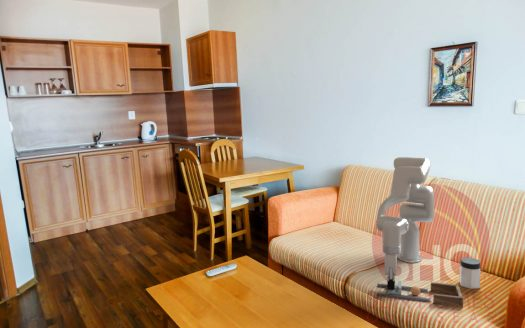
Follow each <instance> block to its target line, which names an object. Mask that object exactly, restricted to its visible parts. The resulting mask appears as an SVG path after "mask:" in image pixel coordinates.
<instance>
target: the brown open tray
mask: <svg viewBox="0 0 525 328" xmlns="http://www.w3.org/2000/svg"><path fill="white" fill-rule="evenodd" d="M430 292H431V293H433V292H434V293H433V299H432V300H433V302H432V303H433V305H442V306H450V307H457V306H462V307H461V308H463V306H464V296H463V294H462V291H461V289H460V286H459V285H458V284H454V283H452V284H451V283H442V282H441V283H440V282H432V281H431V282H430ZM439 293H440V294H439ZM448 294H450V295H448ZM451 294H452V295H451Z"/></svg>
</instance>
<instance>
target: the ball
mask: <svg viewBox="0 0 525 328" xmlns="http://www.w3.org/2000/svg"><path fill="white" fill-rule="evenodd" d="M411 287H412V288H411V290H410V293H411V294H412V295H413V296H419V295H420V293H421V291H420V289H419V288H420V287H418V286H417V285H413V286H411Z"/></svg>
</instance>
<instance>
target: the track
mask: <svg viewBox="0 0 525 328" xmlns="http://www.w3.org/2000/svg"><path fill="white" fill-rule="evenodd" d="M376 285H377V287H378V288H387V284H386V283H377V284H376ZM395 286H398V284H395ZM412 287H413V286H405V285H401V290H404V291H405V290H406V291H411V288H412ZM418 288H419V289H420V293H421V292H422V293H428V292H429V289H428V288H424V287H423V288H422V287H418ZM376 296H378V297H386V298H395V299H400V300H401V299H403V300H410V301H411V300H412V301H418V302H427V303H429V302H431V299H430V297H424V296H423V297H422V296H416V295H413V296H412V295H405V294H401V295H398V294H389V293H388V292H378V291H376Z"/></svg>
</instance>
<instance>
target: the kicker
mask: <svg viewBox="0 0 525 328" xmlns="http://www.w3.org/2000/svg"><path fill="white" fill-rule="evenodd" d="M389 274H390V273H389ZM389 277H390V276H389ZM401 286H402V281H401V280H397V286H395V289H387V293H389V294H398V295H402V289H401Z"/></svg>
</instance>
